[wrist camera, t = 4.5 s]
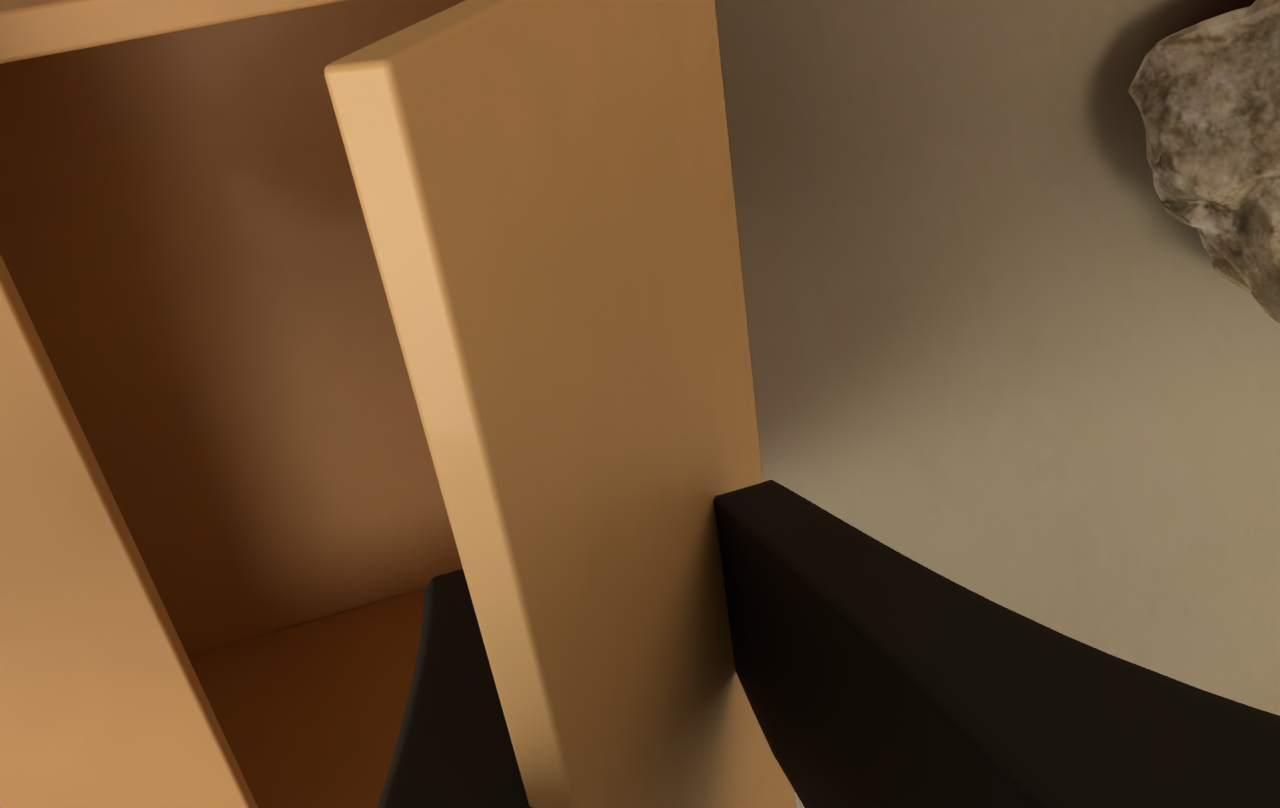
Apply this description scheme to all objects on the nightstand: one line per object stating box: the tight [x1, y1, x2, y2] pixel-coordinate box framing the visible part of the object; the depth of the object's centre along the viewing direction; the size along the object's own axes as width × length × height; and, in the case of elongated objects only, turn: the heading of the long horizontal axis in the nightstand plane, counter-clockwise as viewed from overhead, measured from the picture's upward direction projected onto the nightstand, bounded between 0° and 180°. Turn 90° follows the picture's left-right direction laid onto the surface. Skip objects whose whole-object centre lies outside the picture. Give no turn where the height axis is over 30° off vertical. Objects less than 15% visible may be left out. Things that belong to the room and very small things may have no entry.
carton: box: [0, 0, 465, 808], centre depth 14 cm, size 13×12×8 cm
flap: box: [324, 0, 796, 808], centre depth 9 cm, size 6×12×1 cm
